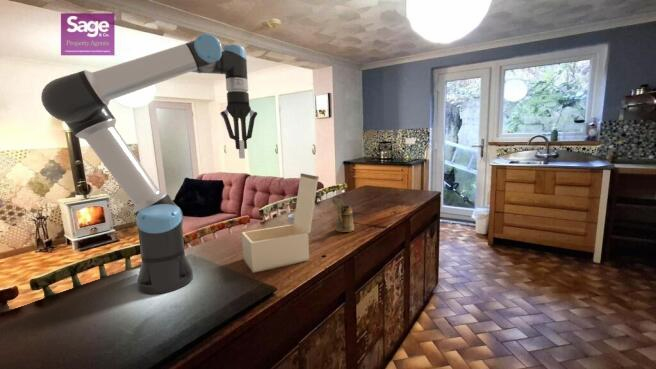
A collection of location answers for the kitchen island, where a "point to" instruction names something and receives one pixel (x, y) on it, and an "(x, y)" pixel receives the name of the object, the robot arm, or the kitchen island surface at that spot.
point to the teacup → (291, 219)
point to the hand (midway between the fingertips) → (242, 158)
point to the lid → (305, 201)
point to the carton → (275, 247)
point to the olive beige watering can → (343, 215)
